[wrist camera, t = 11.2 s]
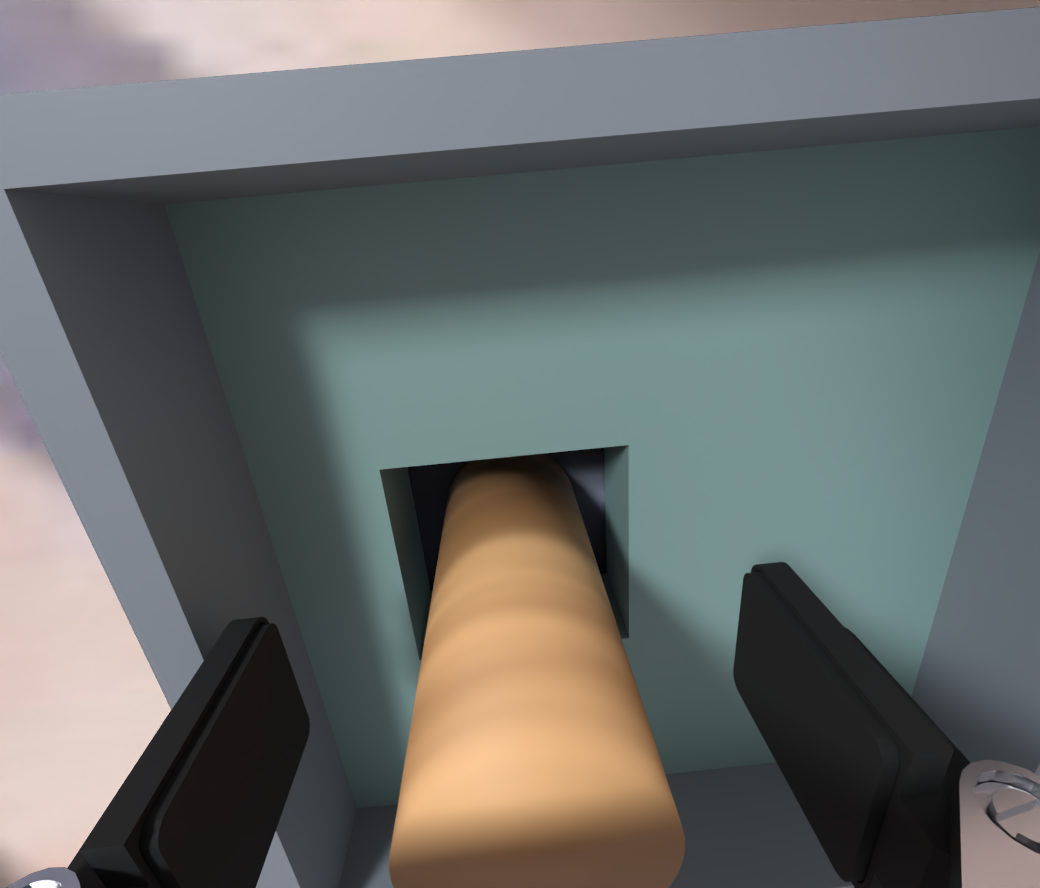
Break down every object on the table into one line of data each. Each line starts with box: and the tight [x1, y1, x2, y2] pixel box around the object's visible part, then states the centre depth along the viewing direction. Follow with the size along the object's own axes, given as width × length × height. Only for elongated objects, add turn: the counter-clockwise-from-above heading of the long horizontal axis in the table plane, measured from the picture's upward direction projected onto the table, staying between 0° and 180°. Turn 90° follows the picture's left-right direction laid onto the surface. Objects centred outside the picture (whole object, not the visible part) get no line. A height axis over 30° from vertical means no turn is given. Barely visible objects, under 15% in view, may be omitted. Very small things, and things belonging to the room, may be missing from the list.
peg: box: [389, 453, 685, 888], centre depth 12 cm, size 4×4×10 cm
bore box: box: [0, 7, 1040, 888], centre depth 13 cm, size 20×20×6 cm
